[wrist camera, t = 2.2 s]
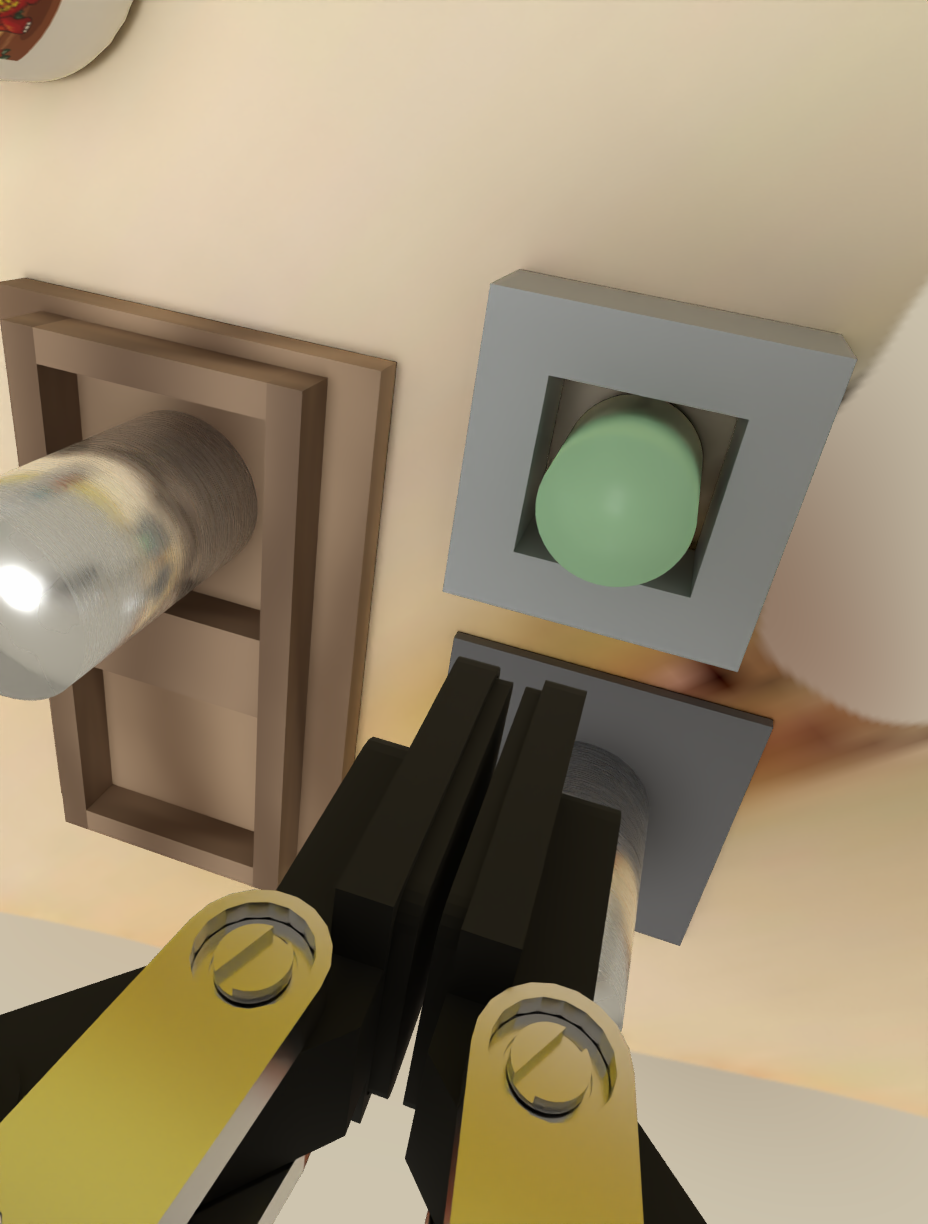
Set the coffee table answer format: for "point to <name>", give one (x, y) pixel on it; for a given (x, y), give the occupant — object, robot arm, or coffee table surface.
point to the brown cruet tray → (218, 578)
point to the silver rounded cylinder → (621, 789)
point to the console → (660, 369)
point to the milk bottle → (55, 36)
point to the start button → (622, 492)
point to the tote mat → (653, 768)
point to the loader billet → (112, 542)
